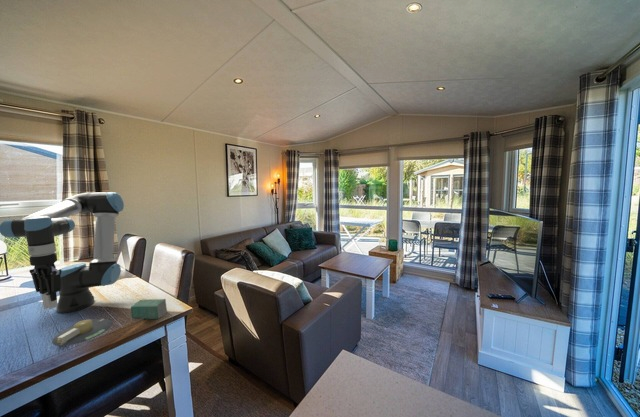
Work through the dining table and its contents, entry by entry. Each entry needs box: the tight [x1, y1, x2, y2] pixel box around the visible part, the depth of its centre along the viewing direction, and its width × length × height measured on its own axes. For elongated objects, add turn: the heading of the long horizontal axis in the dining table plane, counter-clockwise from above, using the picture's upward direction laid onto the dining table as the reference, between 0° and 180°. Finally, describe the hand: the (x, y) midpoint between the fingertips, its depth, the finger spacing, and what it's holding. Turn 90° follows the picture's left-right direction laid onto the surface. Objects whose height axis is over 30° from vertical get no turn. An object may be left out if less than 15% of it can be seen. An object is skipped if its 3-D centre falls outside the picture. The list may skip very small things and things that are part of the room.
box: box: [130, 298, 168, 320], centre depth 127 cm, size 7×14×8 cm, turn 92°
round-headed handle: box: [57, 318, 93, 343], centre depth 109 cm, size 13×6×4 cm, turn 176°
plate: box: [51, 318, 113, 347], centre depth 113 cm, size 20×20×2 cm
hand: (50, 307), depth 105 cm, fingers open, 2 cm apart
